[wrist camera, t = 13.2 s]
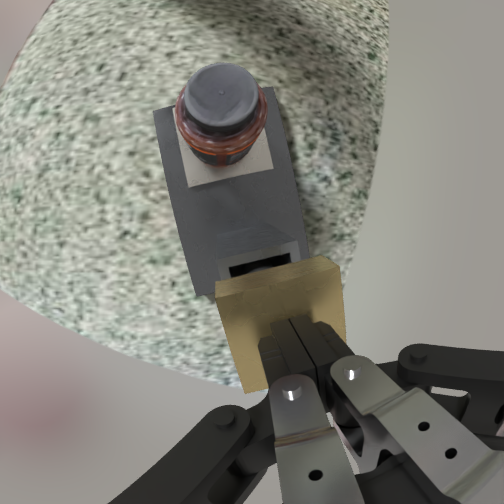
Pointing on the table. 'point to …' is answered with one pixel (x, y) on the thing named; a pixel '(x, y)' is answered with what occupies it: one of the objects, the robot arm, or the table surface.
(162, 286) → the table surface
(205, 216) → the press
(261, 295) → the plunger
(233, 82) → the supplement bottle
